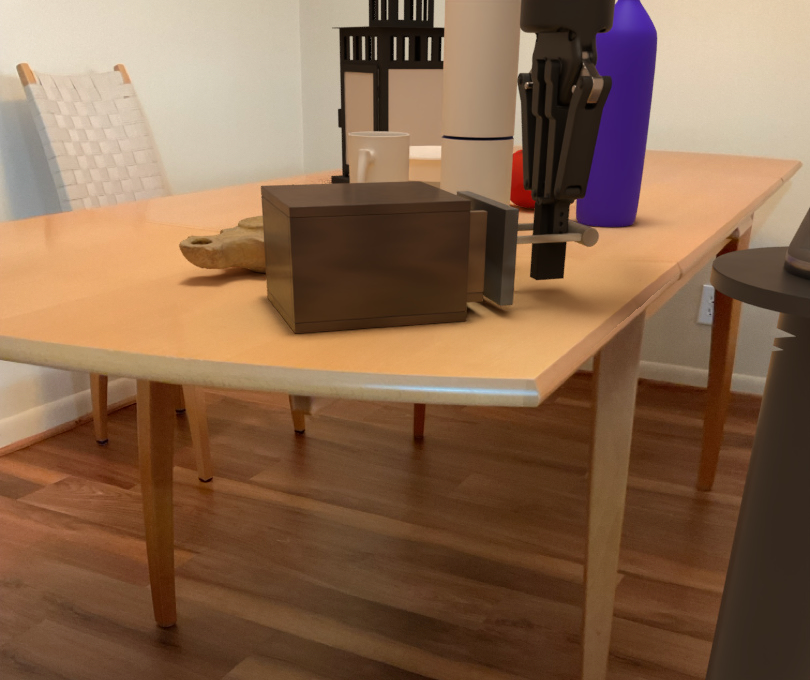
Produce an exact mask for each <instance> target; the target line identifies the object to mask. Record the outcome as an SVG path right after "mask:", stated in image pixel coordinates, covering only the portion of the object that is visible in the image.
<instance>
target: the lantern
mask: <svg viewBox="0 0 810 680" xmlns="http://www.w3.org/2000/svg"><path fill="white" fill-rule="evenodd" d="M414 1H415V3H414ZM399 3H400V1H399V0H380V4H379V0H368V26H367V25H364V26H341V27H340V26H339V27H337V26H336V27H333V29H338V33H339V35H338V36H339V39H338V40H339V41H338V42H339V81H340V84H339V85H340V108H338V109H337V127H338V128H339V129H341V131H340V132H341V171H342V172H341V173H342V174H339V175H330V182H331V183H330V184H339V183H350V174H349V141H348V134H349V133H353V132H372V131H381V132H402V133H408V134H410V146H441V141H442V136H444V135H442V102H443V63H444V60H442V47H443V46H442V45H443V44H442V43H443V42H442V40H443V39H442V38H444V27H438V26H437V27H436V26H435V0H403V19H399V8H400V7H399V5H400V4H399ZM414 4H415V6H414ZM379 5H380V6H379ZM379 7H380V17H379ZM414 7H415V8H414ZM414 9H415V19H414ZM379 18H380V19H379ZM434 26H435V27H434ZM351 37H352V59H351ZM363 38H364V59H363ZM406 38H408V46H407V47H408V55H407V56H408V57H407V59H406ZM429 38H430V60H429ZM395 44H396V45H395Z"/></svg>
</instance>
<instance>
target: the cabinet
mask: <svg viewBox="0 0 810 680" xmlns="http://www.w3.org/2000/svg"><path fill="white" fill-rule="evenodd" d="M260 196H261V213H262V215H261V216H263V231H264V248H265V264H266V273H265V278H266V279H265V280H266V295H267V296H266V297H267V299H268V300H269V302H270V303H271V305H273V307H274V308H275V309H276V310H277V312H278V313H279V314H280V316H281V317H282V318H283V319H284V321H285V322H286V324H287V325H288V327H290V328H291V330H292V331H293V333H294V334H308V333H309V334H310V333H320V332H321V333H322V332H334V331H349V330H364V329H376V328H390V327H403V326H415V325H429V324H444V323H455V322H458V323H459V322H467V308H468V302H467V286H468V262H469V238H470V214H471V212H470V210H471V200H468V199H465V198H463V197H460V196H458V195H455V194H452V193H450V192H447V191H445V190H442V189H439V188H437V187H434V186H432V185H429V184H426V183H424V182H421V181H408V182H373V183H339V184H333V183H307V184H277V185H274V184H273V185H260Z"/></svg>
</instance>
